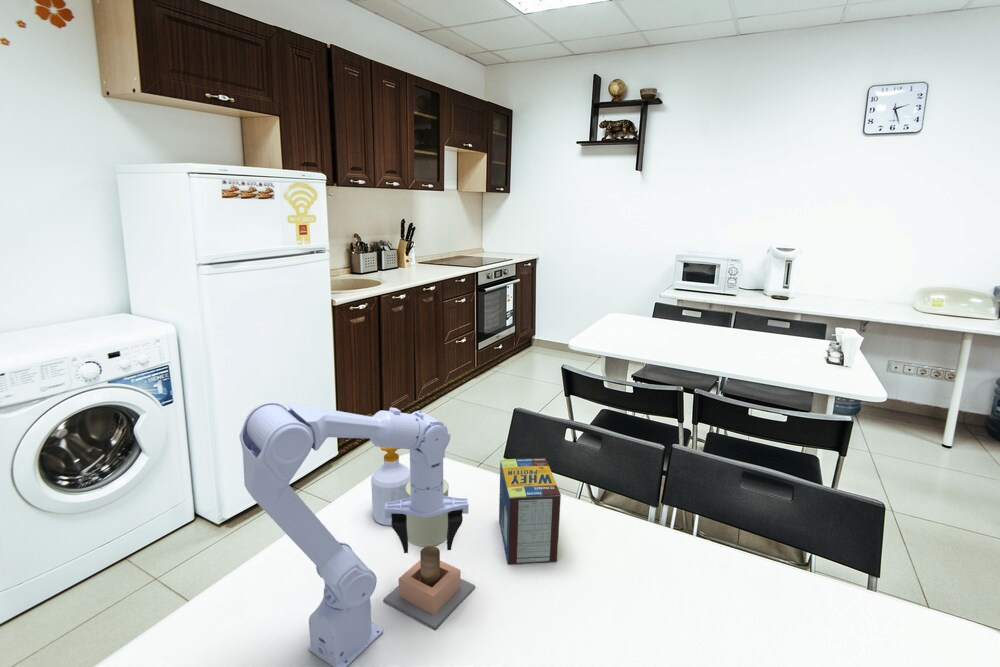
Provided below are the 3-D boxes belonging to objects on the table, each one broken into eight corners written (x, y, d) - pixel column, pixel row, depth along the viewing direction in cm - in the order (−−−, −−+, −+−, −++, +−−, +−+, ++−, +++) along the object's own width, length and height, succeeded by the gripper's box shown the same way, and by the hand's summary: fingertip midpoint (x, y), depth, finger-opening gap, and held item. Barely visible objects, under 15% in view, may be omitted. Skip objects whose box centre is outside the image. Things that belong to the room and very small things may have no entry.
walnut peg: (431, 598, 97) (431, 561, 95) (416, 590, 98) (416, 553, 96) (443, 587, 100) (443, 550, 97) (428, 579, 101) (428, 543, 99)
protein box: (543, 517, 124) (546, 456, 119) (557, 562, 109) (561, 494, 105) (497, 519, 122) (499, 458, 118) (506, 565, 108) (508, 497, 103)
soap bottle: (371, 506, 126) (367, 409, 120) (410, 501, 129) (408, 406, 122) (374, 529, 118) (370, 426, 111) (415, 522, 120) (413, 422, 114)
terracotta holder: (435, 630, 91) (435, 608, 90) (383, 601, 97) (382, 580, 96) (475, 588, 101) (475, 567, 100) (425, 564, 107) (425, 544, 106)
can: (452, 522, 121) (452, 474, 118) (444, 548, 112) (444, 498, 109) (412, 519, 122) (411, 471, 119) (401, 545, 113) (399, 494, 110)
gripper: (466, 467, 98) (466, 531, 102) (385, 471, 96) (388, 536, 100) (469, 488, 91) (469, 556, 95) (383, 492, 89) (385, 562, 93)
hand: (427, 548), depth 97 cm, fingers open, 7 cm apart
